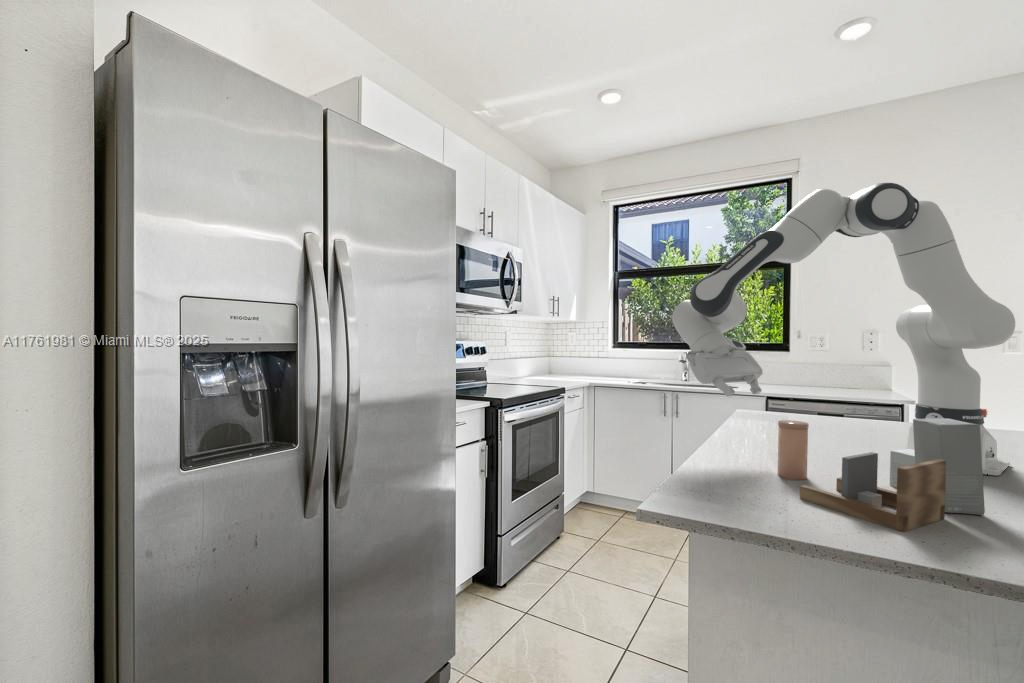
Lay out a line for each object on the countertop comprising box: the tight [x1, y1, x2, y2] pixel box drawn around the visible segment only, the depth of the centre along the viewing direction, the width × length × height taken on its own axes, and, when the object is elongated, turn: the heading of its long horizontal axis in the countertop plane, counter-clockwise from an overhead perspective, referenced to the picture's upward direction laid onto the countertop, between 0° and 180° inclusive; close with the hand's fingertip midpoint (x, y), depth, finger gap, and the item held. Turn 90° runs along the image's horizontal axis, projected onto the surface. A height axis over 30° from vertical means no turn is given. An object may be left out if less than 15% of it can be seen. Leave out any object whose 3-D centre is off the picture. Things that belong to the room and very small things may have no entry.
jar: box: [777, 419, 809, 481], centre depth 107 cm, size 6×6×12 cm
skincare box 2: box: [912, 418, 986, 516], centre depth 89 cm, size 8×7×16 cm
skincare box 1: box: [889, 448, 915, 488], centre depth 99 cm, size 6×6×7 cm
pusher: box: [841, 451, 883, 508], centre depth 88 cm, size 9×3×9 cm, turn 116°
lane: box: [799, 459, 946, 533], centre depth 88 cm, size 13×17×10 cm
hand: (744, 393), depth 118 cm, fingers open, 8 cm apart
